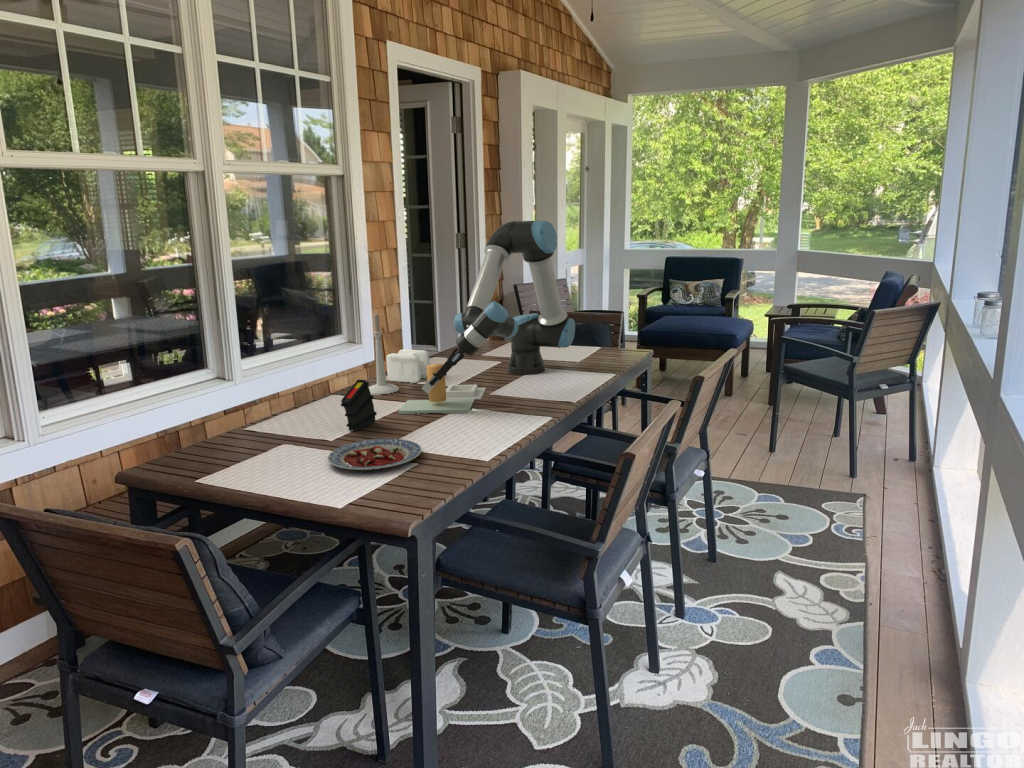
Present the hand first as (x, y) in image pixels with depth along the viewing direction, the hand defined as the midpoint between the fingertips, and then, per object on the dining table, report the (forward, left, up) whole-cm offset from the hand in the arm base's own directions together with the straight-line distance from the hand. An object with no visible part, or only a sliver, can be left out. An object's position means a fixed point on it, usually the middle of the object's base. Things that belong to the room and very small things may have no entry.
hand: (426, 388), depth 264 cm
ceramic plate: (+4, +54, -7) cm, 55 cm away
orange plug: (-4, 0, -4) cm, 6 cm away
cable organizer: (+15, -42, -7) cm, 45 cm away
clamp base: (-10, -15, -7) cm, 19 cm away
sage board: (-4, +1, -7) cm, 8 cm away
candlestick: (+22, -25, -7) cm, 34 cm away
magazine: (+17, +23, -7) cm, 30 cm away
